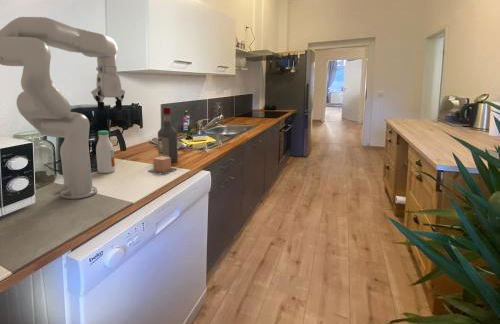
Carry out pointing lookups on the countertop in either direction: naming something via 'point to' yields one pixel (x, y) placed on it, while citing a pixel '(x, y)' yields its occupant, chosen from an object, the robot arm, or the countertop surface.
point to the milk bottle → (105, 153)
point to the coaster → (161, 171)
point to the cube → (162, 163)
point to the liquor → (168, 138)
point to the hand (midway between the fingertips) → (110, 110)
